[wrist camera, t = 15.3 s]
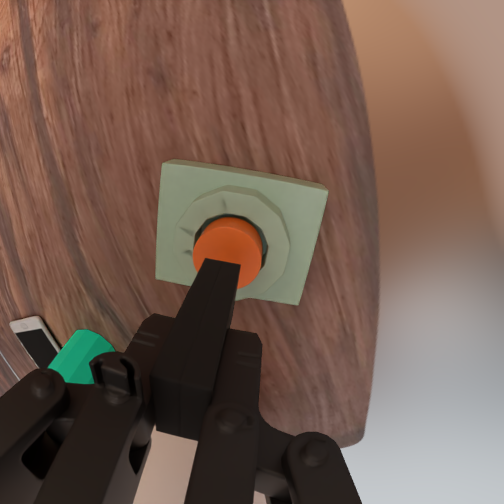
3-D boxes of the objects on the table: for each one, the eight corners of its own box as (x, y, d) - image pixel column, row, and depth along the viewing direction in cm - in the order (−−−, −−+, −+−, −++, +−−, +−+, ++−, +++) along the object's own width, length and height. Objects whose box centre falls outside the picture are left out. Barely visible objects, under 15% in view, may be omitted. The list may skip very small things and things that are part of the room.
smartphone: (36, 316, 25) (106, 411, 30) (39, 313, 25) (108, 407, 31) (7, 323, 26) (71, 408, 31) (10, 320, 26) (72, 405, 32)
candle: (65, 324, 26) (2, 403, 15) (111, 333, 25) (51, 429, 14) (81, 365, 28) (33, 442, 17) (125, 376, 28) (82, 465, 17)
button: (197, 269, 18) (190, 283, 16) (203, 211, 16) (195, 221, 15) (256, 280, 18) (254, 295, 16) (268, 223, 16) (267, 234, 15)
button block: (164, 265, 22) (145, 292, 18) (173, 158, 19) (150, 166, 15) (296, 289, 22) (300, 321, 18) (323, 184, 19) (335, 197, 15)
